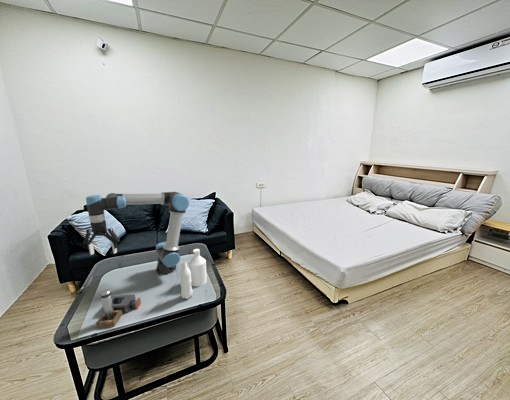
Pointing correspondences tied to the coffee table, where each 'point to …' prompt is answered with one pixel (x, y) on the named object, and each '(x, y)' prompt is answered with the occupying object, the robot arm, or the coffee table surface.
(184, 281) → the water bottle
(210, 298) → the coffee table surface
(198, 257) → the bottle
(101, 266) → the coffee table surface
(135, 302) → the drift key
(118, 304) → the socket block
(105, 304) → the peg
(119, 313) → the brown square tray
